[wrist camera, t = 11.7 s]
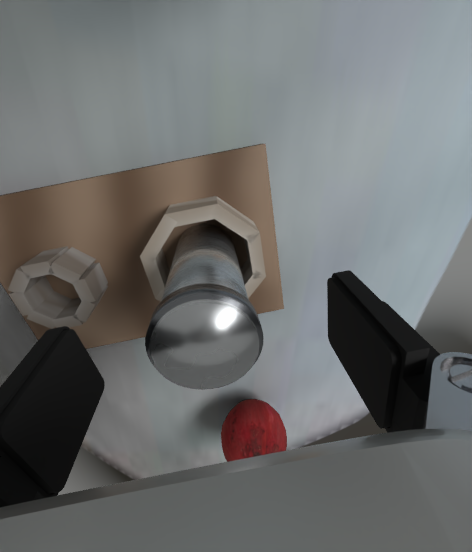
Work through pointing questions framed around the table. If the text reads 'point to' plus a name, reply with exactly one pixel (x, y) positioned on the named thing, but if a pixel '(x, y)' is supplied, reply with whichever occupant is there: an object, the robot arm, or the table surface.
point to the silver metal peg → (204, 315)
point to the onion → (252, 431)
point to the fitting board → (132, 241)
